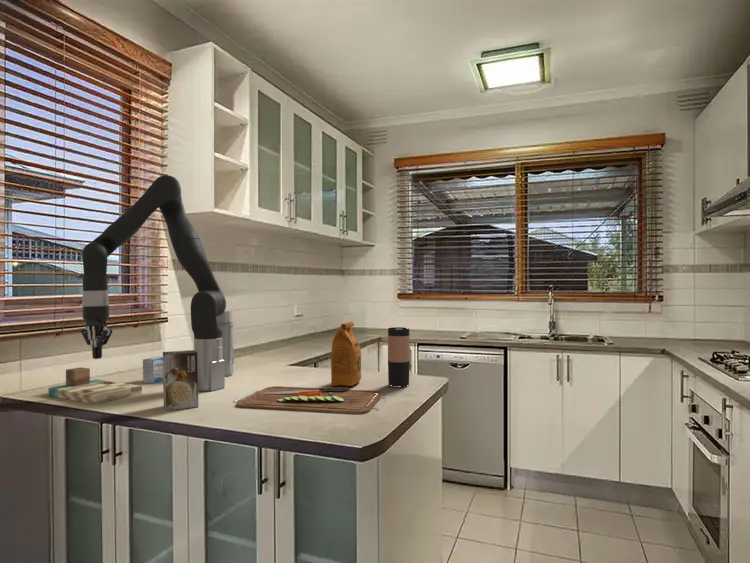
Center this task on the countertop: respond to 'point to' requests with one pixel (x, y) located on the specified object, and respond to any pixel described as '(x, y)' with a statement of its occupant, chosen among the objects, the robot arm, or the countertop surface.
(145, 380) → the medicine box
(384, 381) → the countertop surface
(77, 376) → the walnut block
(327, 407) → the chopping board
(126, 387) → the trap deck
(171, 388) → the coffee box
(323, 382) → the countertop surface
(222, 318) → the water bottle
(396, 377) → the travel mug
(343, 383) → the coffee package
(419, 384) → the countertop surface
